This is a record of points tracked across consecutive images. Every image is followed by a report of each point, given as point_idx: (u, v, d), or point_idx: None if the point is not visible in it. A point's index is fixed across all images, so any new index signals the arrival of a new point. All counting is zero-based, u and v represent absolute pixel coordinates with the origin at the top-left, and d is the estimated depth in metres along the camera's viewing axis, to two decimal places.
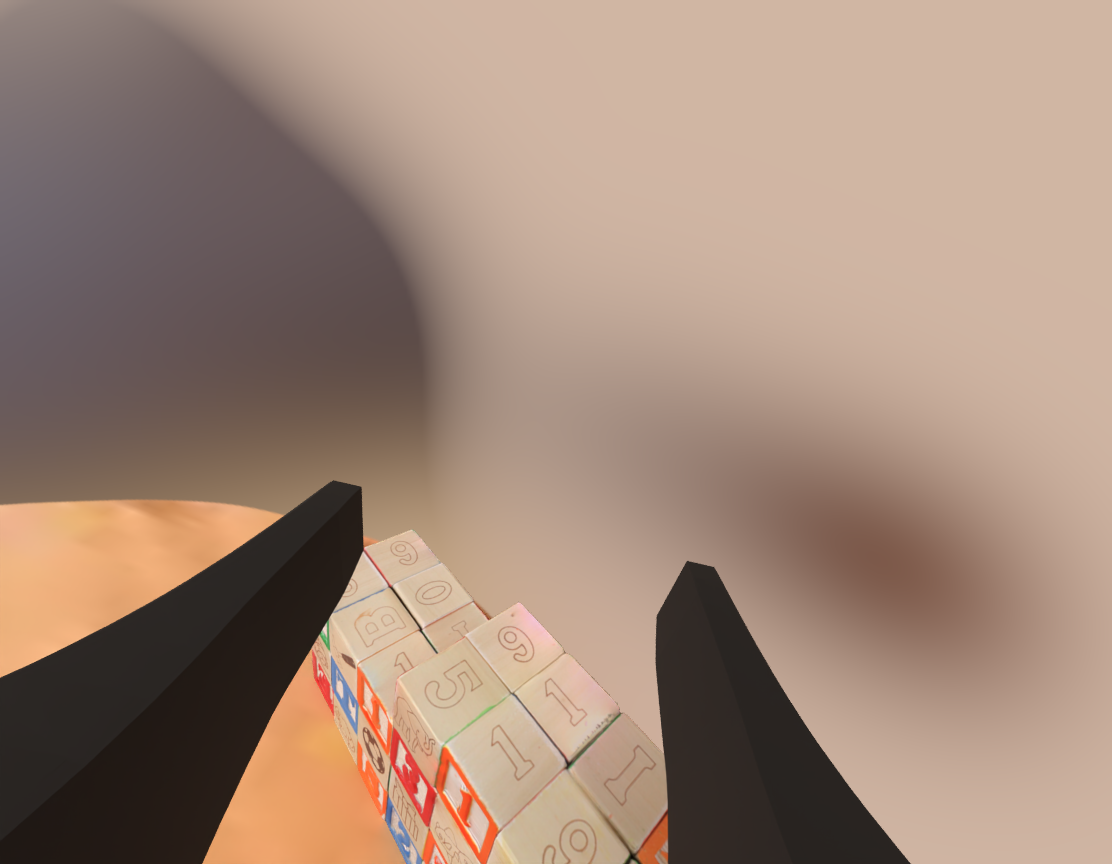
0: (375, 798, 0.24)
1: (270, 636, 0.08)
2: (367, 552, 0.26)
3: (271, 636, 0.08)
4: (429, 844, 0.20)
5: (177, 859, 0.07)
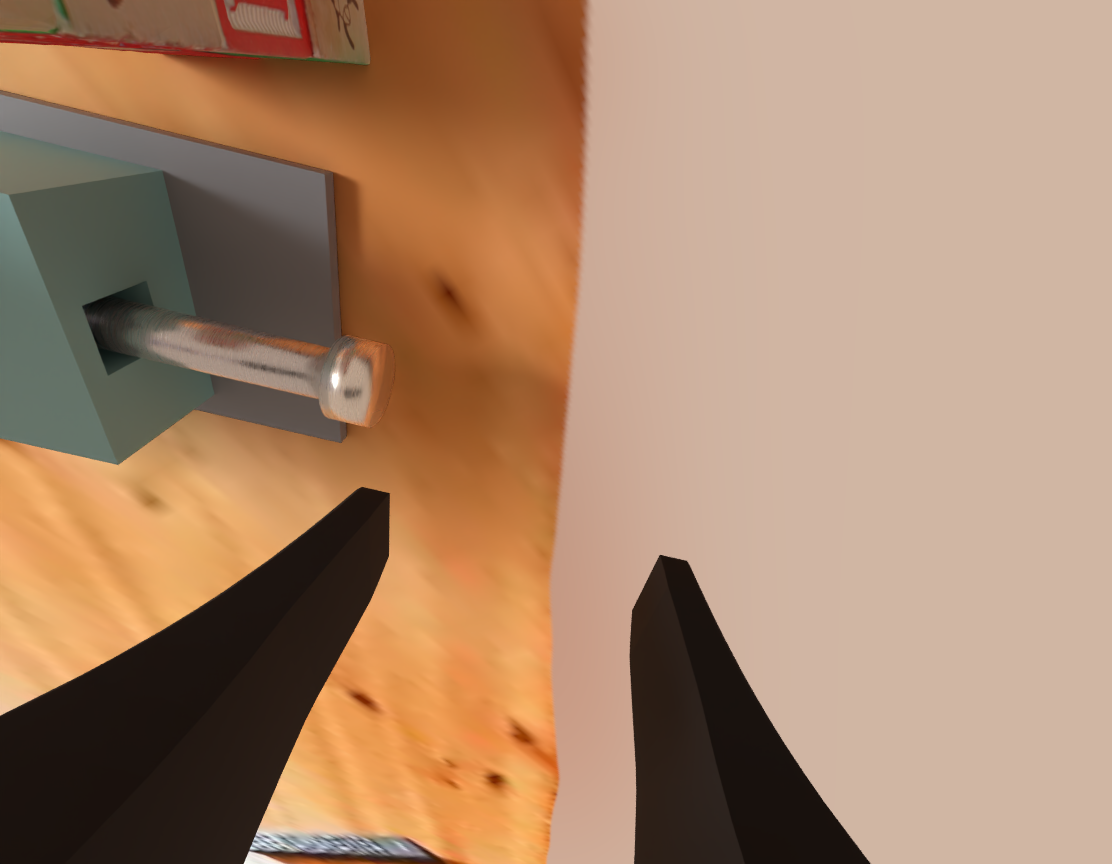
0: None
1: (306, 644, 0.08)
2: None
3: (307, 644, 0.08)
4: None
5: None
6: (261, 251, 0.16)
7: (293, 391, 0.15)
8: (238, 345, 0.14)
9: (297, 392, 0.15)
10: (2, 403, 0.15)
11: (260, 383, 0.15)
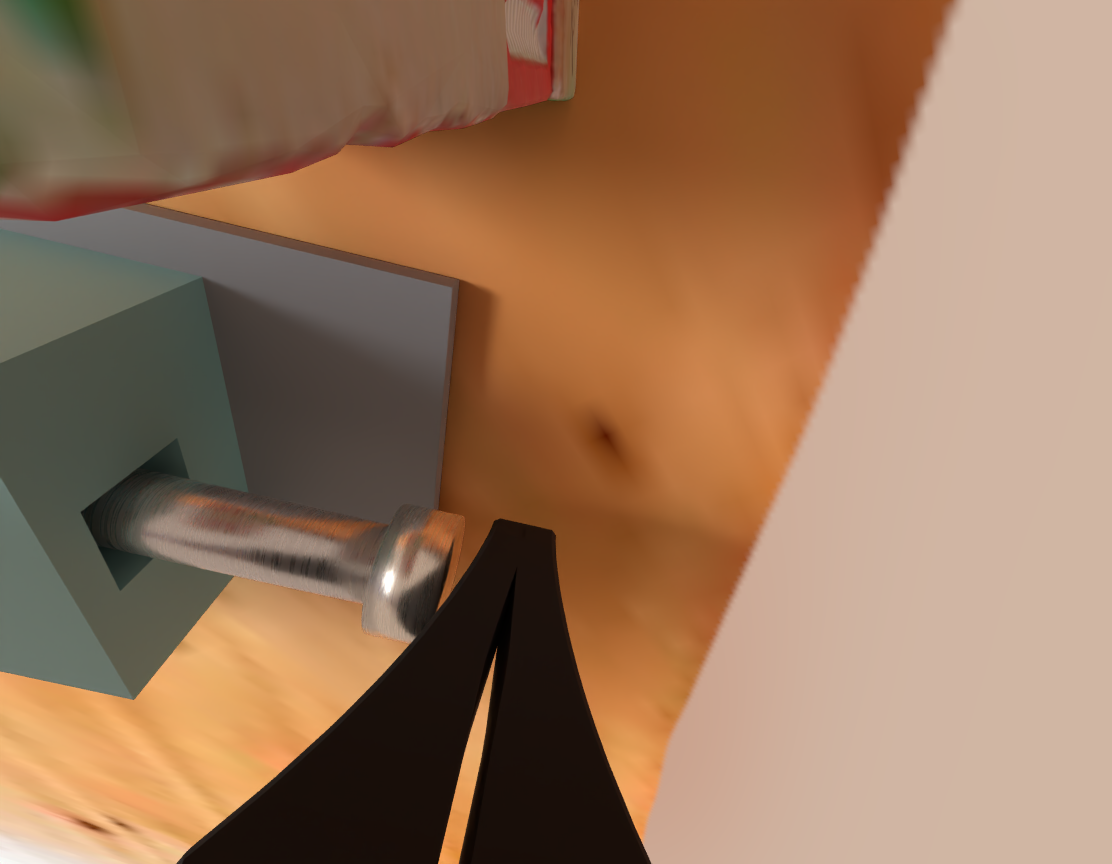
0: None
1: (481, 683, 0.08)
2: None
3: (481, 682, 0.08)
4: None
5: None
6: (342, 384, 0.11)
7: (319, 594, 0.10)
8: (237, 534, 0.09)
9: None
10: None
11: (269, 583, 0.10)
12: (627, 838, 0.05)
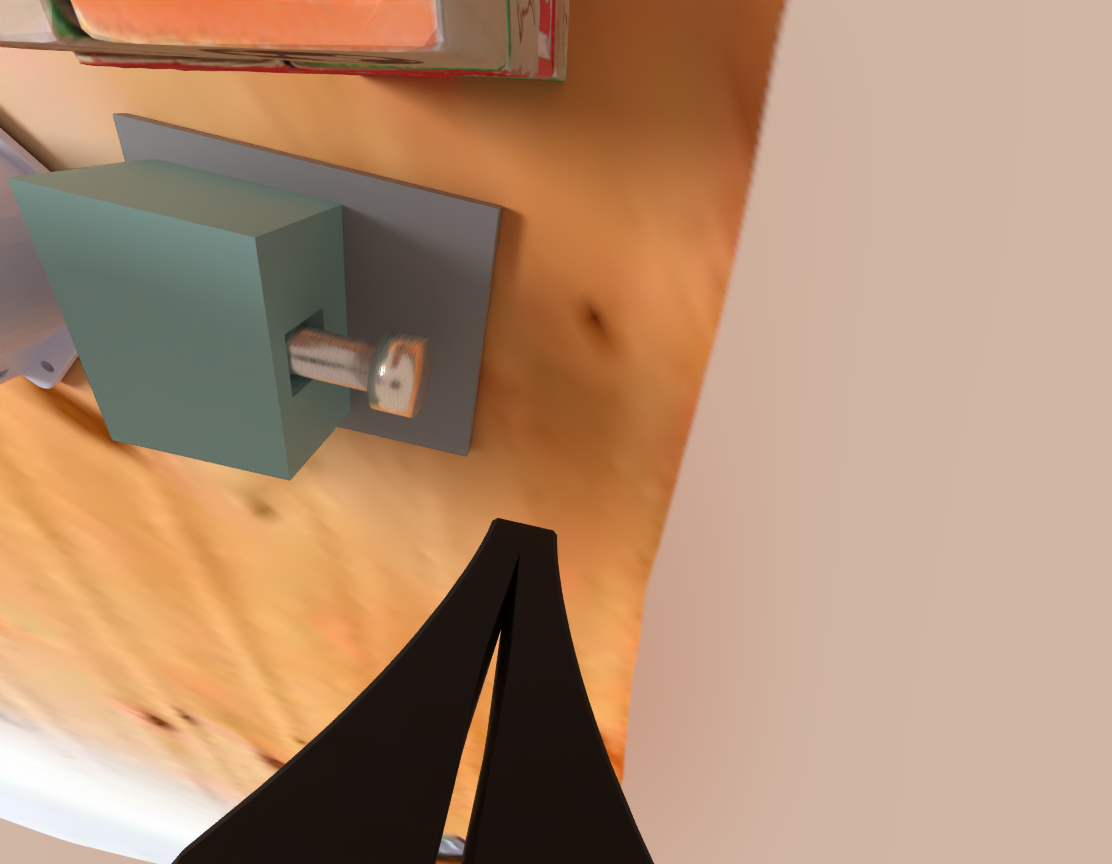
0: None
1: (479, 682, 0.08)
2: None
3: (479, 681, 0.08)
4: None
5: None
6: (423, 278, 0.17)
7: (340, 383, 0.15)
8: (290, 339, 0.15)
9: (344, 384, 0.15)
10: (192, 423, 0.15)
11: (309, 375, 0.15)
12: (630, 838, 0.05)
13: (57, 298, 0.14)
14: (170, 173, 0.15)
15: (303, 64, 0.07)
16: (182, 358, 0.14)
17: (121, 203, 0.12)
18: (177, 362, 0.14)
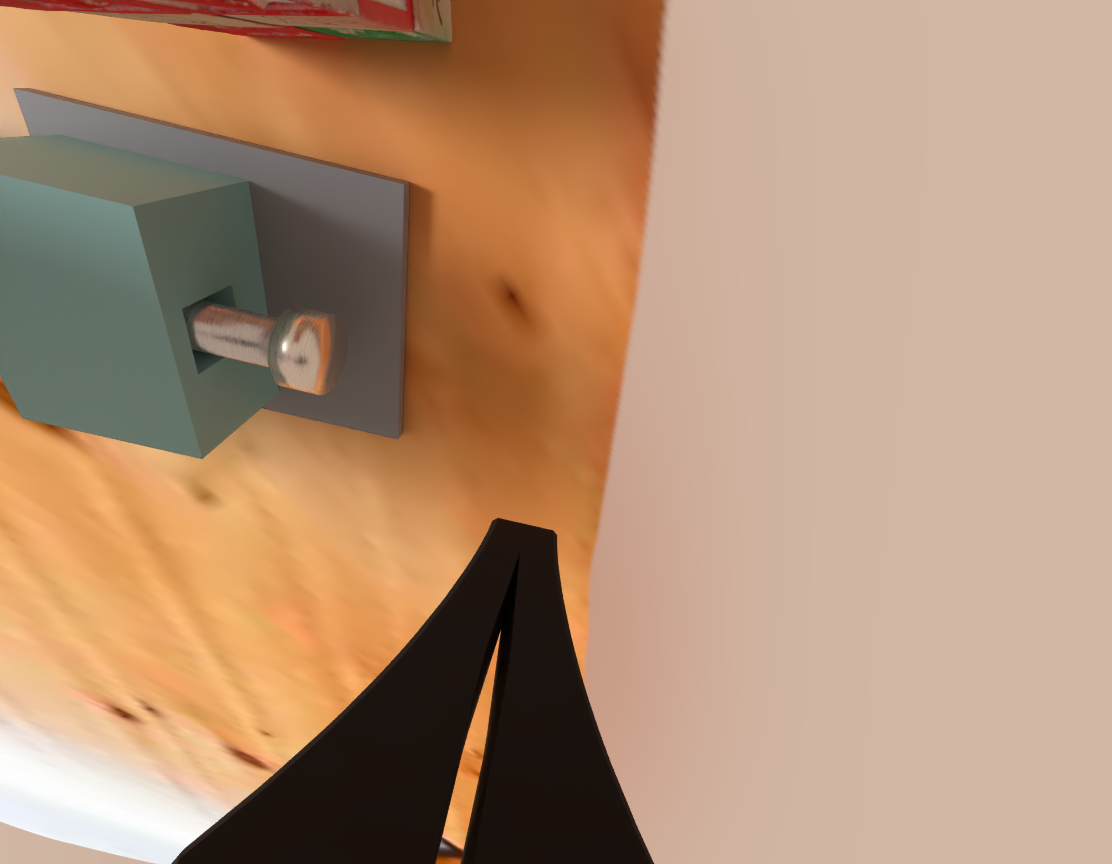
0: None
1: (479, 683, 0.08)
2: None
3: (479, 681, 0.08)
4: None
5: None
6: (336, 256, 0.17)
7: (246, 359, 0.15)
8: (193, 314, 0.15)
9: (250, 360, 0.15)
10: (98, 400, 0.15)
11: (215, 352, 0.15)
12: (630, 838, 0.05)
13: None
14: (70, 147, 0.14)
15: None
16: (79, 332, 0.14)
17: None
18: (75, 337, 0.14)
